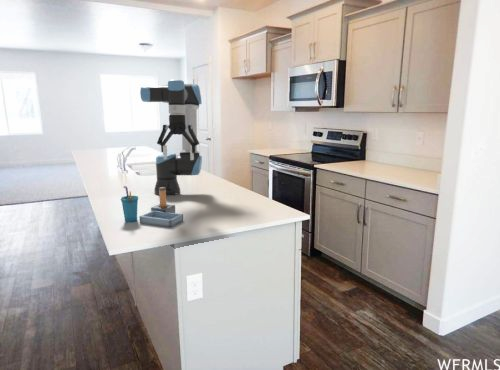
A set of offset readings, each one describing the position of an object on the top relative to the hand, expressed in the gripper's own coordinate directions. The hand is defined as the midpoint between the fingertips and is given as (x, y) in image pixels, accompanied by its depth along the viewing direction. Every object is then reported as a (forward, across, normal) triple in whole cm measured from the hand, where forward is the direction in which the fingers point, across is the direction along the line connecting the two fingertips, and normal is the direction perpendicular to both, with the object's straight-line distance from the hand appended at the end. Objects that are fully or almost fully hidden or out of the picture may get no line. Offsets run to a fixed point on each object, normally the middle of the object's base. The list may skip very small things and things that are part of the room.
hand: (178, 159), depth 173 cm
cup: (+26, -17, -18) cm, 36 cm away
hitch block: (+26, -6, -7) cm, 27 cm away
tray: (+26, -2, -18) cm, 31 cm away
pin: (+26, -6, -7) cm, 27 cm away
